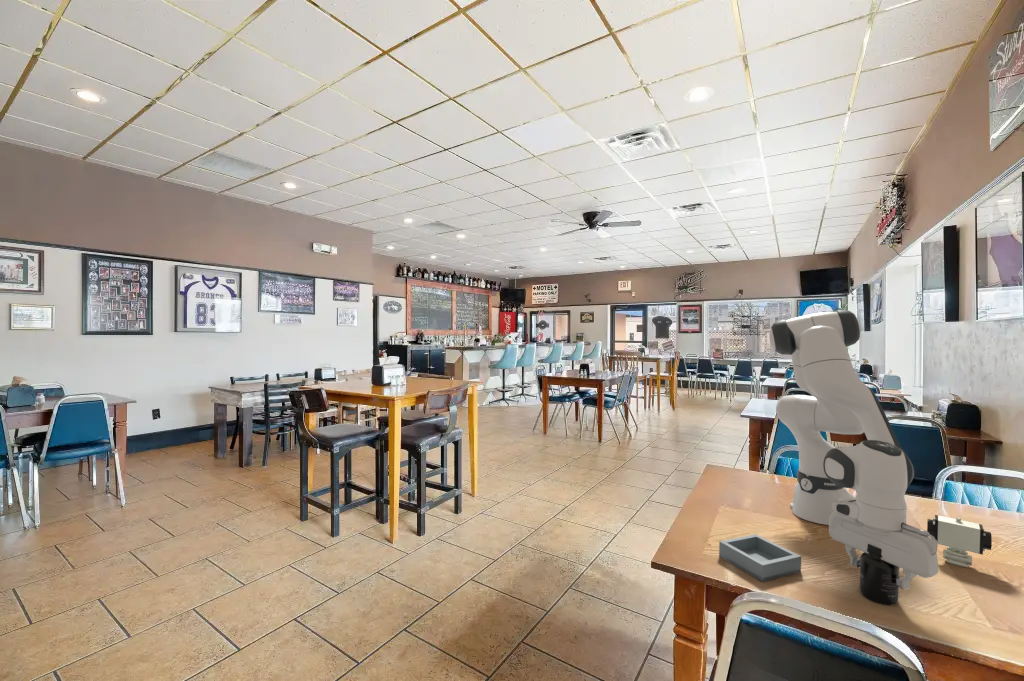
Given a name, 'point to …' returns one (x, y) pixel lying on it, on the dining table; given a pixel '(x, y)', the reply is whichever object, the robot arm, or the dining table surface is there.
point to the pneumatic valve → (959, 538)
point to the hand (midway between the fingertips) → (878, 576)
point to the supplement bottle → (878, 578)
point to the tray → (760, 557)
